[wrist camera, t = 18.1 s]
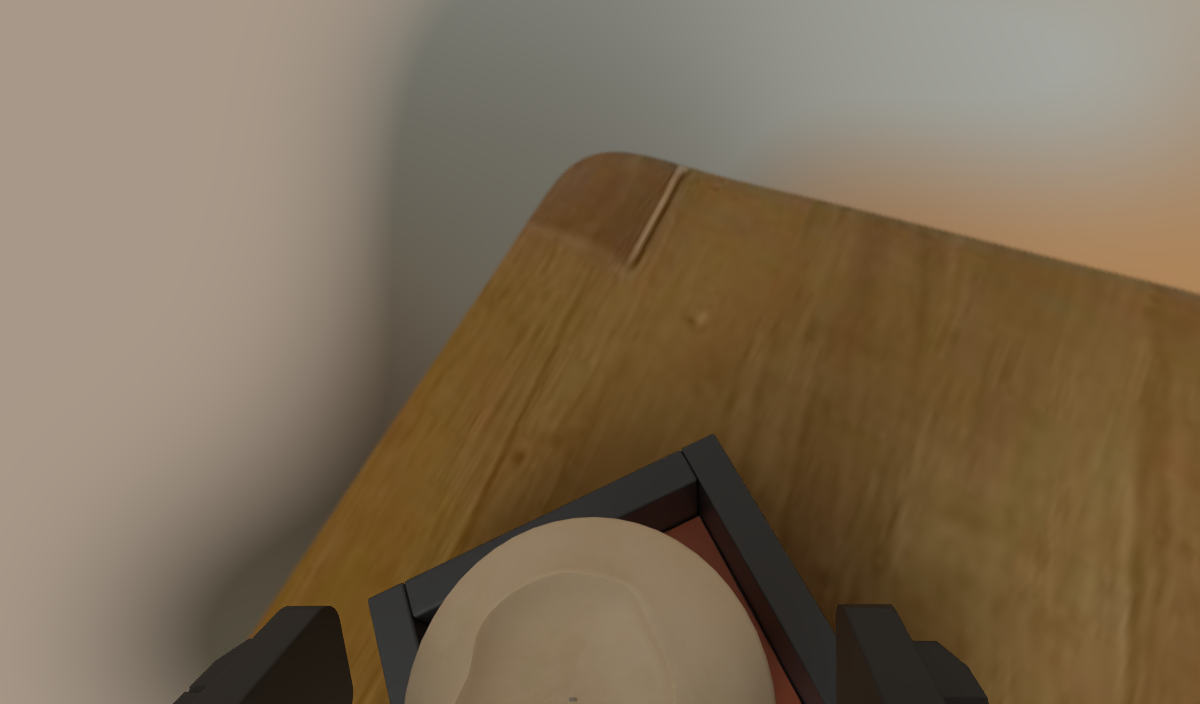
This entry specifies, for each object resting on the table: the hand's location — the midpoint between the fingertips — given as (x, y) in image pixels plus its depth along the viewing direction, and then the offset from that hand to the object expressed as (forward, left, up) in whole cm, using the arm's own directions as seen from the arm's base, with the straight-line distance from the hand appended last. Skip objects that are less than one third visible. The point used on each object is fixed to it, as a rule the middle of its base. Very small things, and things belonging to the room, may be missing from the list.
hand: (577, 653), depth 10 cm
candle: (0, -1, -8) cm, 8 cm away
